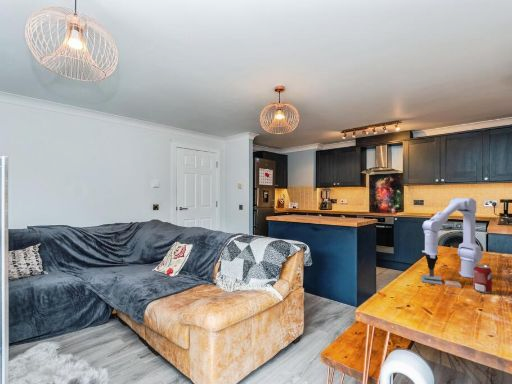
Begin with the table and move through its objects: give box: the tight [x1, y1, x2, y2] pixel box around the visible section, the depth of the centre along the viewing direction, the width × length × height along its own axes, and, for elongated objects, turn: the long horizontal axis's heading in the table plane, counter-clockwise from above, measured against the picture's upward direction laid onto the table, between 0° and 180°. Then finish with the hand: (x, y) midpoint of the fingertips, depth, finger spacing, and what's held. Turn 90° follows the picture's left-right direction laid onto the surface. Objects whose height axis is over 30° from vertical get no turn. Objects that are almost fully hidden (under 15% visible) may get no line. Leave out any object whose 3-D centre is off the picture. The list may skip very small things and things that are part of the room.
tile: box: [443, 279, 462, 289], centre depth 137 cm, size 2×6×6 cm
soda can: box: [472, 264, 493, 294], centre depth 129 cm, size 7×7×12 cm
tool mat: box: [419, 275, 443, 286], centre depth 143 cm, size 9×9×1 cm
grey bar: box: [422, 269, 442, 281], centre depth 143 cm, size 3×8×7 cm, turn 63°
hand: (431, 269), depth 143 cm, fingers closed on grey bar, 2 cm apart
